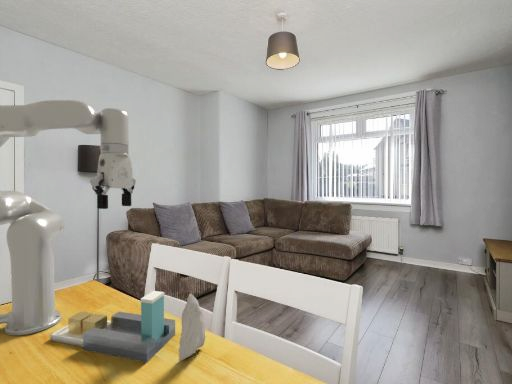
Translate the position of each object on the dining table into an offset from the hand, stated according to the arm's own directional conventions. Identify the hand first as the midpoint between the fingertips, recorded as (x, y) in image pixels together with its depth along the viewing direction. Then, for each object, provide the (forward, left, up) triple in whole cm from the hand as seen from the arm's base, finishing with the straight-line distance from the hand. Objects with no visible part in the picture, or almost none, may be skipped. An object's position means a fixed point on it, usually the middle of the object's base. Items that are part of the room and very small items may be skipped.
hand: (115, 207), depth 84 cm
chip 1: (-8, -8, -33) cm, 35 cm away
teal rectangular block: (+9, -22, -31) cm, 39 cm away
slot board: (+4, -18, -33) cm, 38 cm away
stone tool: (+17, -30, -34) cm, 48 cm away
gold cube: (-5, -11, -33) cm, 35 cm away
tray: (-7, -8, -33) cm, 35 cm away
